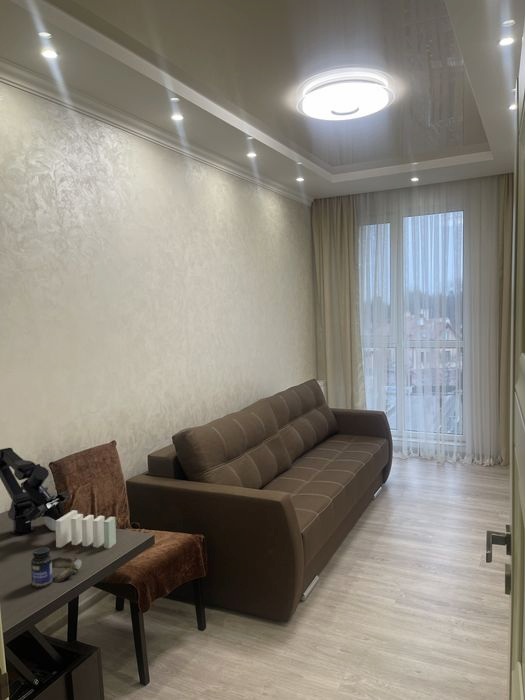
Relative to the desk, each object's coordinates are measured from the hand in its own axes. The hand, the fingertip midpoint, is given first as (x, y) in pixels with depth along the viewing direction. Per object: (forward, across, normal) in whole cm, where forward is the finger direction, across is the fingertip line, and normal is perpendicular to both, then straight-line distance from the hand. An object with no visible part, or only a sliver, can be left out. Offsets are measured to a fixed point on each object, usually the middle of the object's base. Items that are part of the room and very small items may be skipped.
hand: (62, 522), depth 201 cm
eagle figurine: (+18, +24, +7) cm, 30 cm away
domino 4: (+16, -1, +5) cm, 16 cm away
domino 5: (+19, -1, +8) cm, 21 cm away
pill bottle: (+14, +30, +4) cm, 33 cm away
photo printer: (-4, -11, -14) cm, 19 cm away
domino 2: (+9, -1, -1) cm, 9 cm away
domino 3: (+12, -1, +2) cm, 13 cm away
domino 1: (+6, -1, -4) cm, 8 cm away
